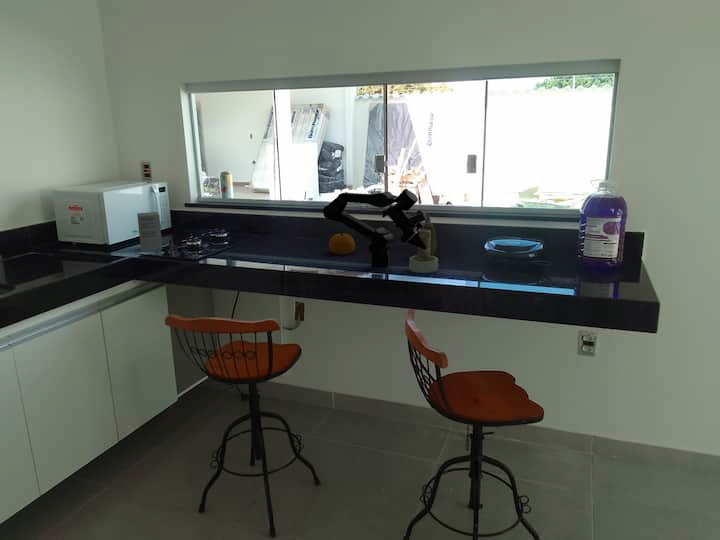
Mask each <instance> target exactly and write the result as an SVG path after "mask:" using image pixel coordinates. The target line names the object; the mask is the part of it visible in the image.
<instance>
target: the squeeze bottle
mask: <svg viewBox="0 0 720 540" xmlns="http://www.w3.org/2000/svg"><path fill="white" fill-rule="evenodd" d="M426 216H427V219H426V220H425V221H423V224H424V226H423V227H424V230H429V231H431V240H430V256H434V255H435V252H436V249H437V238H436V228H435V227H434V222H431V216H430V213H426ZM423 227H422V228H423ZM422 228H421V229H422Z"/></svg>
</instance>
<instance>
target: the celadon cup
mask: <svg viewBox="0 0 720 540" xmlns="http://www.w3.org/2000/svg"><path fill="white" fill-rule="evenodd" d="M408 265H409V266H408V267H409V271H410V272H413V273H418V274H430V273H436V272H437V271H438V270H439V269H438V268H439V267H438V266H439V258H438V257H436V256H434V255H432V256H430V261H417V255H413V256H410V257H409V264H408Z"/></svg>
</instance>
